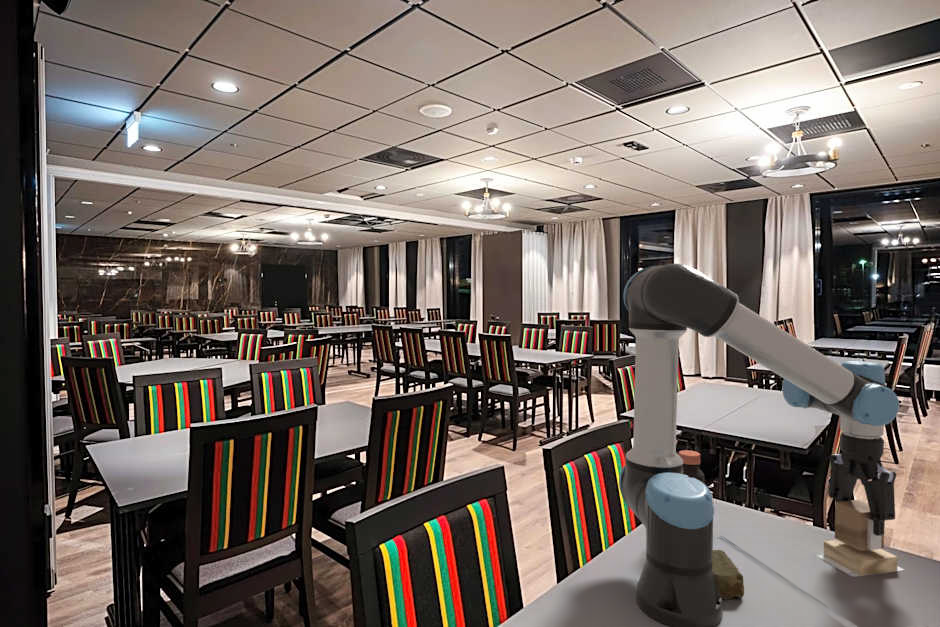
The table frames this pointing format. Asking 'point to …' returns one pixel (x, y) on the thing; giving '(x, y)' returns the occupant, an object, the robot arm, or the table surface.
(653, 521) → the robot arm
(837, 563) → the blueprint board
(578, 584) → the table surface
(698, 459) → the bottle
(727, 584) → the stone block
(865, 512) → the walnut block
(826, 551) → the oak plinth
